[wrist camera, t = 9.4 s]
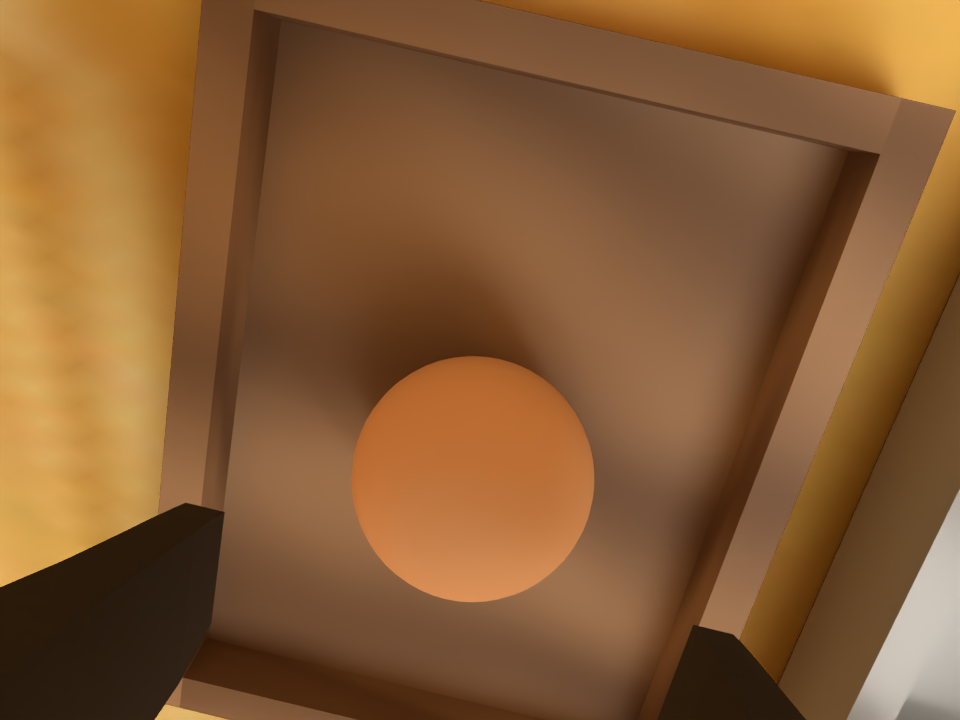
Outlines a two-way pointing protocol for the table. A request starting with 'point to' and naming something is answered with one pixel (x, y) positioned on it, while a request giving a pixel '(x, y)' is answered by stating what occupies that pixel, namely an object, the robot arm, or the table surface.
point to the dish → (896, 568)
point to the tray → (509, 333)
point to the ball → (472, 479)
